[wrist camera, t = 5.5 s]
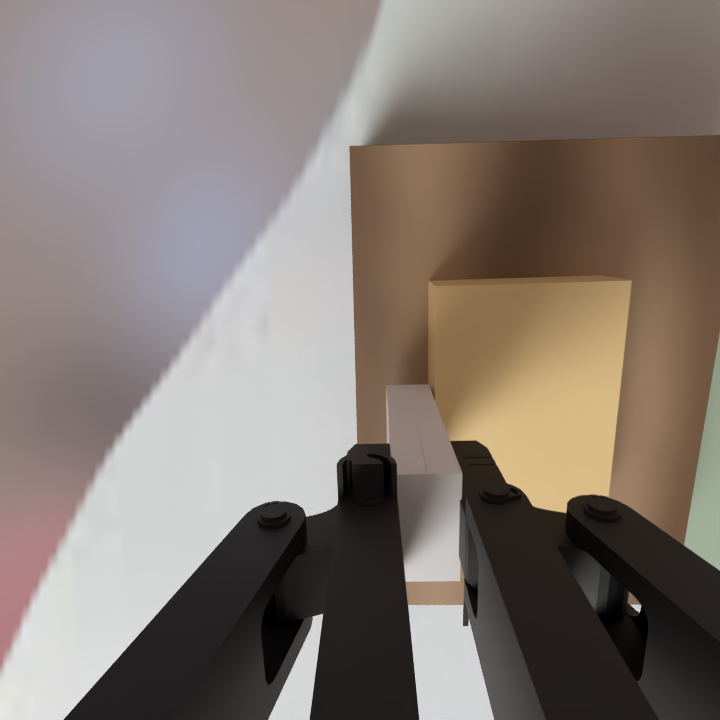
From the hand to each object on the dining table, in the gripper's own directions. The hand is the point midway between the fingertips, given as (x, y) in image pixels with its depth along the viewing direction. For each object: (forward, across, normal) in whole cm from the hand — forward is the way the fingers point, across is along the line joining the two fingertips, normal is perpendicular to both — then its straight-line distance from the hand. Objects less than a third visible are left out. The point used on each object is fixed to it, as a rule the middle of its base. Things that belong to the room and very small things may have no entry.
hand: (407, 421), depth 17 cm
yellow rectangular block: (+1, -4, 0) cm, 4 cm away
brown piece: (+5, -5, 0) cm, 7 cm away
